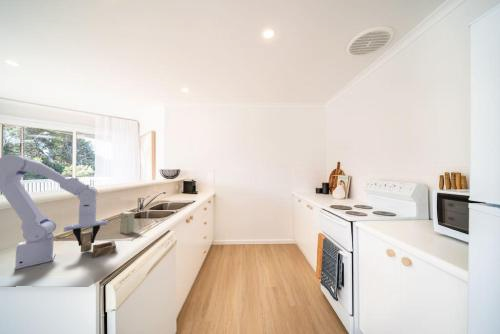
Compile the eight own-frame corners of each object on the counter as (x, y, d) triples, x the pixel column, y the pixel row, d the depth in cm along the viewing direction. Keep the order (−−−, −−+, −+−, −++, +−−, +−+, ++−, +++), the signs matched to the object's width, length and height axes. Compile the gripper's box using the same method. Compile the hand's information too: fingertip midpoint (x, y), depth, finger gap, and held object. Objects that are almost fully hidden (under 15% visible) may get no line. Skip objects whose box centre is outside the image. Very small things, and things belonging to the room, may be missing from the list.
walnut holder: (93, 257, 73) (93, 250, 74) (92, 251, 79) (93, 245, 79) (115, 252, 79) (115, 245, 79) (113, 246, 84) (114, 240, 84)
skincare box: (119, 233, 103) (120, 212, 104) (126, 230, 107) (127, 211, 108) (127, 234, 101) (127, 213, 102) (134, 231, 106) (134, 211, 106)
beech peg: (80, 252, 76) (81, 234, 76) (80, 250, 78) (81, 232, 79) (91, 250, 78) (92, 232, 78) (91, 247, 81) (92, 230, 81)
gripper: (63, 218, 71) (62, 251, 70) (108, 212, 81) (107, 242, 80) (65, 215, 76) (63, 246, 75) (107, 210, 86) (106, 237, 86)
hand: (86, 243), depth 78 cm, fingers closed on beech peg, 4 cm apart
